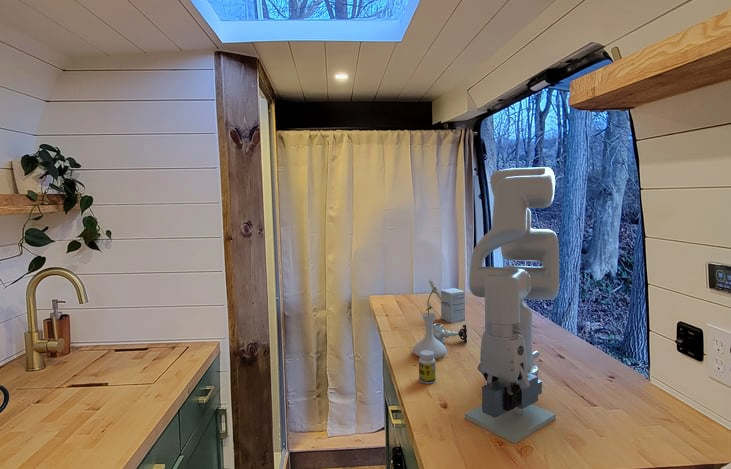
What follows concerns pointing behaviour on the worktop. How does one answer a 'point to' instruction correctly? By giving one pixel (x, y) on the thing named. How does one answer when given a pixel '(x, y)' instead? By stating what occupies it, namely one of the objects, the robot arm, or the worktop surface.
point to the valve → (448, 333)
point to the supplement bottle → (427, 367)
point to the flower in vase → (430, 332)
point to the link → (496, 393)
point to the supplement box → (453, 305)
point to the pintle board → (512, 421)
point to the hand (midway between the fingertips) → (502, 405)
